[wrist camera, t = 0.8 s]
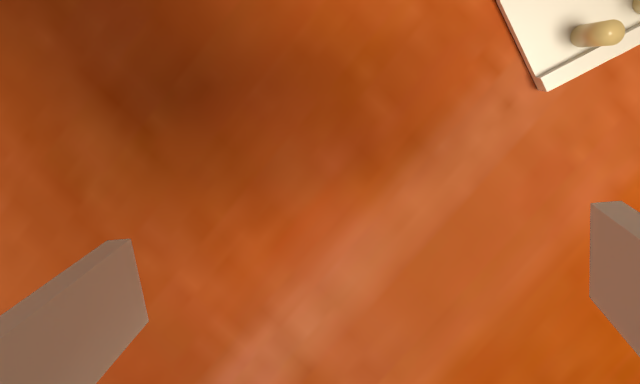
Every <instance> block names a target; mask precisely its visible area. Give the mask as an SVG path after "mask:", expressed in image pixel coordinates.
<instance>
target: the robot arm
mask: <svg viewBox="0 0 640 384" xmlns="http://www.w3.org/2000/svg"><path fill="white" fill-rule="evenodd" d="M589 297H590V298H591V300H592V301H593V302H594V303H595V304H596V305H597V307H598V308H599V309H600V310H601V311H602V313H603V314H604V315H605V316H606V317H607V319H608V320H609V321H610V322H611V323H612V324H613V326H614V327H615V328H616V329H617V330H618V332H619V333H620V334H621V335H622V336H623V338H624V339H625V340H626V341H627V342H628V343H629V345H630V346H631V347H632V348H633V349H634V351H635V352H636V353H637V354H638V355H639V357H640V213H639V212H638V211H636V210H635V209H633V208H631V207H630V206H628V205H627V204H625V203H624V202H622V201H614V202H601V203H591V213H590V294H589ZM148 321H149V320H148V315H147V311H146V306H145V302H144V297H143V293H142V288H141V283H140V279H139V274H138V270H137V265H136V261H135V256H134V251H133V247H132V242H131V239H120V240H107V241H106V242H104V243H103V244H101V245H100V246H99V247H97V248H96V249H94V250H93V251H91V252H90V253H89V254H87V255H86V256H84V257H83V258H82V259H80V260H79V261H77V262H76V263H74V264H73V265H72V266H70V267H69V268H67V269H66V270H65V271H63V272H62V273H60V274H59V275H57V276H56V277H55V278H53V279H52V280H50V281H49V282H48V283H46V284H45V285H43V286H42V287H40V288H39V289H38V290H36V291H35V292H33V293H32V294H31V295H29V296H28V297H26V298H25V299H23V300H22V301H21V302H19V303H18V304H16V305H15V306H14V307H12V308H11V309H9V310H8V311H6V312H5V313H4V314H2V315H1V316H0V384H96V383H97V382H98V380H99V379H100V378H101V377H102V376H103V375H104V373H105V372H106V371H107V370H108V369H109V367H110V366H111V365H112V364H113V363H114V362H115V360H116V359H117V358H118V357H119V356H120V354H121V353H122V352H123V351H124V350H125V349H126V347H127V346H128V345H129V344H130V343H131V341H132V340H133V339H134V338H135V337H136V336H137V334H138V333H139V332H140V331H141V330H142V328H143V327H144V326H145V325H146V324H147V323H148Z"/></svg>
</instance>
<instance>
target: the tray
mask: <svg viewBox="0 0 640 384" xmlns="http://www.w3.org/2000/svg"><path fill="white" fill-rule="evenodd" d="M496 2H497V4H498V7H499V9H500V11H501V13H502V15H503V17H504V19H505V21H506V23H507V26H508V28H509V30H510V32H511V34H512V36H513V38H514V40H515V42H516V45H517V47H518V49H519V51H520V53H521V55H522V57H523V59H524V61H525V64H526V66H527V68H528V70H529V72H530V74H531V76H532V78H533V80H534V83H535V85H536V87H537V89H538V90H540V91H545V92H548V91H550V90H552V89H554V88H556V87H558V86H560V85H562V84H563V83H565V82H567V81H569V80H571V79H573V78H575V77H577V76H579V75H581V74H583V73H585V72H587V71H589V70H591V69H593V68H595V67H597V66H598V65H600V64H602V63H604V62H606V61H608V60H610V59H612V58H614V57H616V56H618V55H620V54H622V53H624V52H626V51H628V50H630V49H631V48H633V47H635V46H637V45H639V44H640V0H496Z"/></svg>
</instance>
